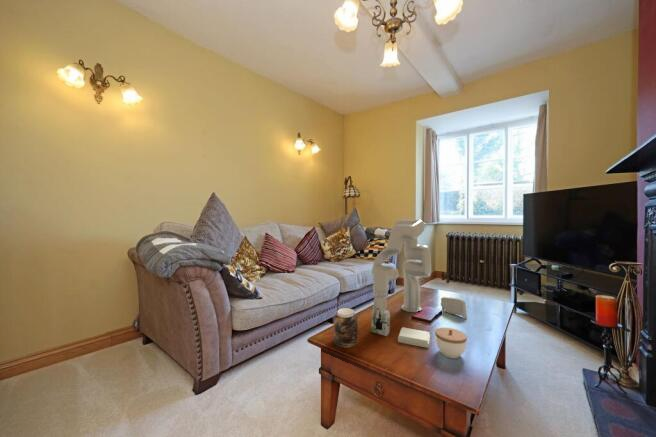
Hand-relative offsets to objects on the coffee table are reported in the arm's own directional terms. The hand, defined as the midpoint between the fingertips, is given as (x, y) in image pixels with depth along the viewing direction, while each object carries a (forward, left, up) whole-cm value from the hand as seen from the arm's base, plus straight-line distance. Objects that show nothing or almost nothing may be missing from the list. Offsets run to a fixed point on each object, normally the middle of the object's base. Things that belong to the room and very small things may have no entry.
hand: (380, 326), depth 136 cm
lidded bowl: (+8, +33, -3) cm, 34 cm away
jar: (+17, -13, -3) cm, 22 cm away
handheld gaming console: (-43, +36, -3) cm, 56 cm away
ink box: (0, 0, -3) cm, 3 cm away
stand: (+1, +17, -3) cm, 17 cm away
